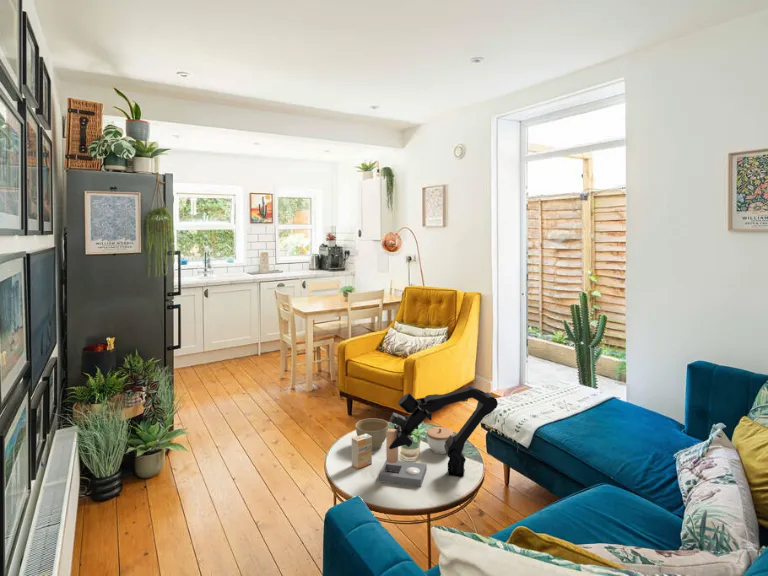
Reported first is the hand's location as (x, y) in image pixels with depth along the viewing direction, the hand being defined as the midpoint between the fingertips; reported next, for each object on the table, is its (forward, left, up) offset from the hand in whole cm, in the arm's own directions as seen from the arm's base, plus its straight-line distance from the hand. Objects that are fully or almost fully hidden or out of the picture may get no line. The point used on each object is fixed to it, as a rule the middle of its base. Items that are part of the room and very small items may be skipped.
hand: (389, 445), depth 201 cm
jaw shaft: (-1, 0, -7) cm, 7 cm away
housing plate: (-6, -2, -13) cm, 15 cm away
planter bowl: (+15, -27, -14) cm, 34 cm away
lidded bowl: (-18, -30, -14) cm, 37 cm away
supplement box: (+14, -7, -14) cm, 21 cm away
